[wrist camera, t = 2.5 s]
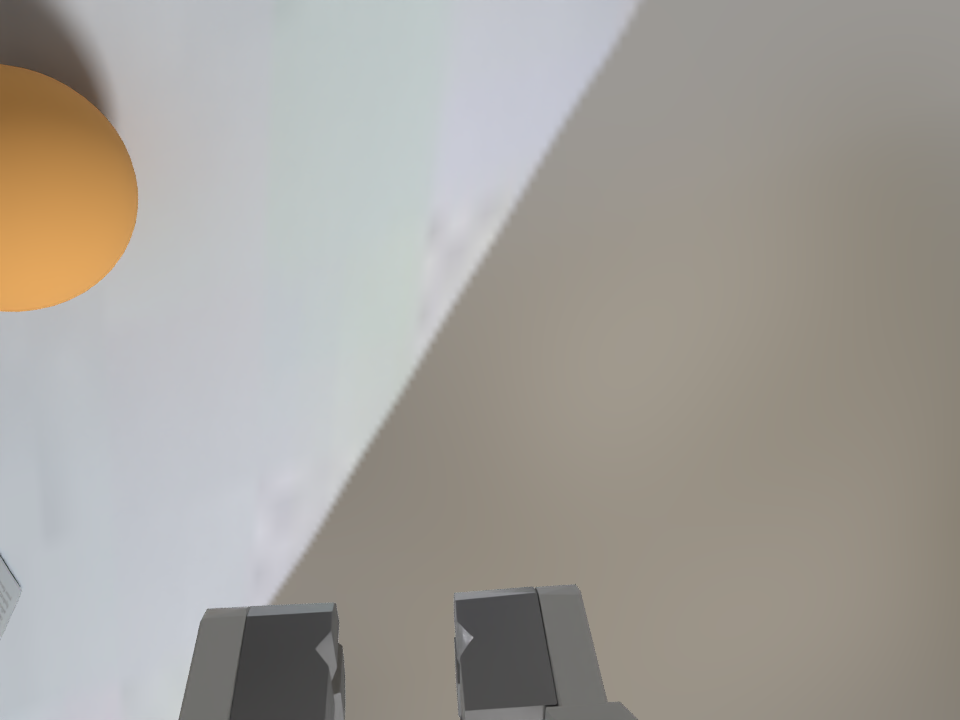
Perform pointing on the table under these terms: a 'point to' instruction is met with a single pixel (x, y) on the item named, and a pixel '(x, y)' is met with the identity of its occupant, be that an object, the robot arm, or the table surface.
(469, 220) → the table surface
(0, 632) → the skincare box
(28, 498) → the table surface
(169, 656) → the table surface
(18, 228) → the ball
